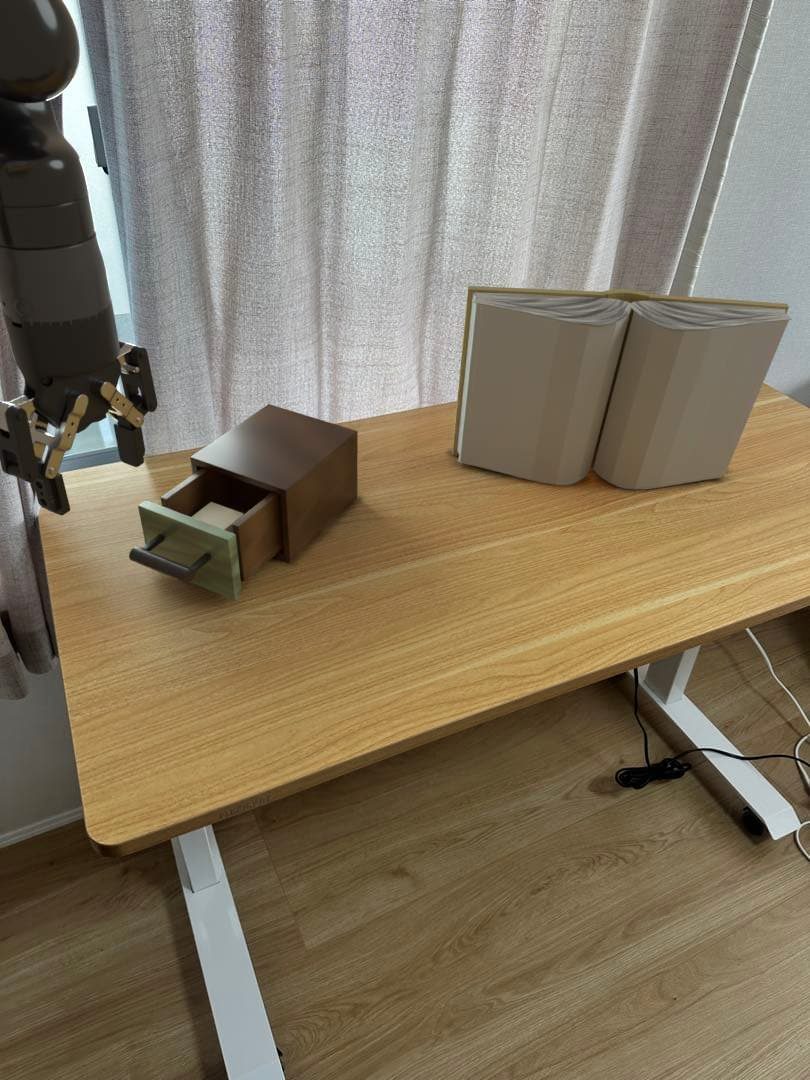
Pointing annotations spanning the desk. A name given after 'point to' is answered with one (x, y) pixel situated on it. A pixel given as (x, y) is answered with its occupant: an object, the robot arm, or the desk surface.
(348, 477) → the cabinet
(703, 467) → the book
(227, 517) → the block
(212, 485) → the drawer
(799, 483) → the desk surface
